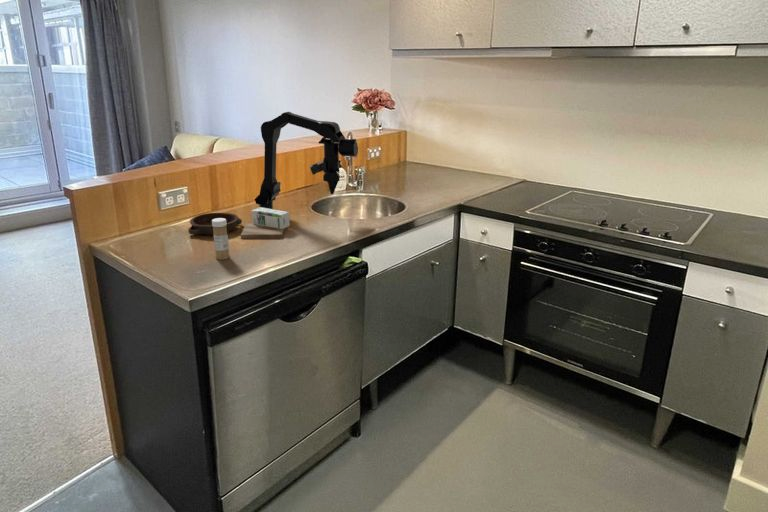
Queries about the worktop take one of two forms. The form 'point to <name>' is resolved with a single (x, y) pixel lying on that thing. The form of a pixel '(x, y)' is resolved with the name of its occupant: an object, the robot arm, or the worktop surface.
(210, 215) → the dish
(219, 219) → the sprinkles bottle
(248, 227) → the cutting board
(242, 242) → the worktop surface
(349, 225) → the worktop surface
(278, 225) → the syrup box
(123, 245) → the worktop surface
